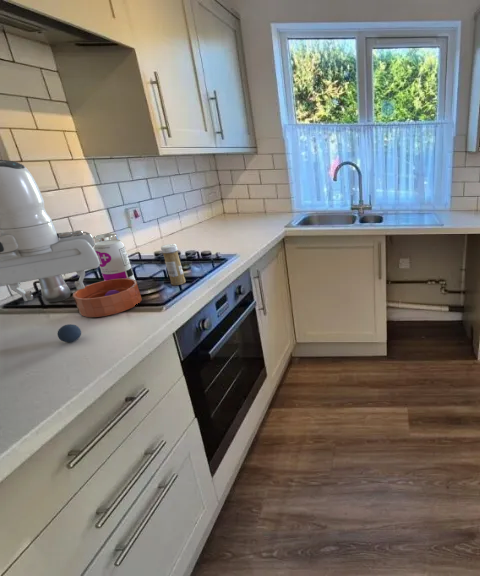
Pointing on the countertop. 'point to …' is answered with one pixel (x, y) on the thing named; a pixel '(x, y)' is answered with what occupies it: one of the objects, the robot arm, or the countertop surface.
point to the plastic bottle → (54, 288)
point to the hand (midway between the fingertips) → (56, 294)
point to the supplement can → (113, 260)
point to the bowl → (107, 297)
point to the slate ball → (69, 333)
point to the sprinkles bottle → (173, 264)
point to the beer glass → (105, 237)
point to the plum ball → (111, 292)
